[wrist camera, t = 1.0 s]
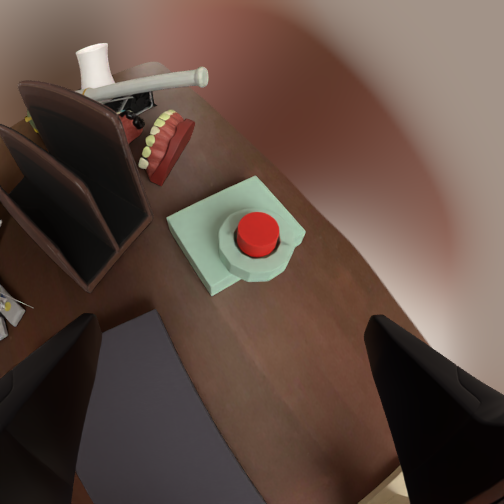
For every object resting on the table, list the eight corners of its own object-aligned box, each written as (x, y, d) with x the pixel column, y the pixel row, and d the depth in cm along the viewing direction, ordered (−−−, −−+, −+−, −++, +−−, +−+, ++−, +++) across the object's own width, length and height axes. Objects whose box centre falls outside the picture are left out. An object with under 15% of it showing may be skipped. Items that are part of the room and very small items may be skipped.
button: (283, 245, 25) (287, 234, 23) (251, 264, 24) (253, 253, 22) (261, 218, 26) (263, 205, 24) (229, 234, 25) (229, 222, 23)
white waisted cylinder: (76, 105, 38) (66, 52, 30) (118, 91, 41) (112, 38, 33) (81, 122, 35) (68, 61, 27) (128, 105, 38) (121, 44, 30)
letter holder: (55, 156, 33) (20, 71, 20) (156, 219, 29) (125, 98, 17) (4, 208, 28) (-49, 129, 16) (90, 296, 24) (6, 201, 12)
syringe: (-16, 286, 22) (-25, 301, 21) (-23, 274, 21) (-33, 289, 19) (44, 314, 22) (35, 332, 21) (37, 301, 21) (26, 321, 19)
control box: (314, 259, 28) (326, 237, 25) (224, 315, 25) (224, 299, 22) (253, 188, 32) (257, 162, 28) (169, 230, 29) (163, 205, 25)
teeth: (112, 93, 30) (201, 99, 29) (123, 130, 36) (204, 141, 35) (72, 137, 26) (168, 149, 25) (90, 175, 32) (177, 192, 31)
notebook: (282, 524, 16) (159, 314, 25) (286, 531, 15) (155, 308, 23) (151, 568, 12) (42, 365, 21) (147, 576, 11) (33, 362, 19)
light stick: (216, 60, 31) (47, 97, 36) (198, 38, 25) (20, 91, 30) (212, 112, 32) (42, 137, 37) (192, 97, 26) (13, 135, 31)
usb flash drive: (-17, 276, 24) (-21, 272, 23) (13, 254, 25) (9, 250, 24) (-4, 343, 21) (-9, 341, 20) (29, 323, 22) (24, 320, 22)
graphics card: (151, 104, 39) (143, 75, 35) (160, 106, 38) (151, 76, 34) (83, 142, 34) (71, 113, 31) (89, 146, 33) (76, 115, 29)
